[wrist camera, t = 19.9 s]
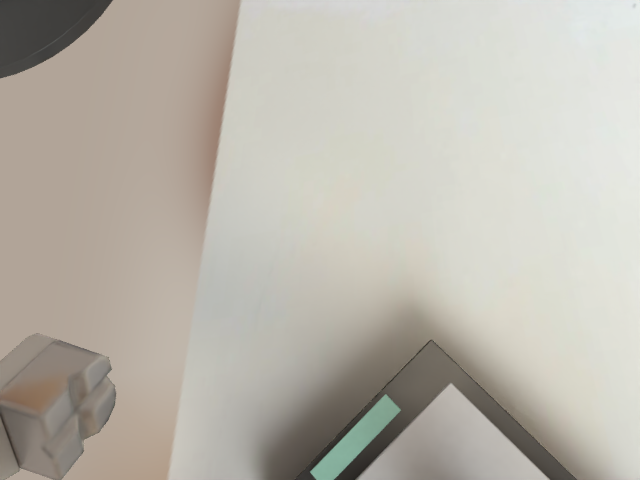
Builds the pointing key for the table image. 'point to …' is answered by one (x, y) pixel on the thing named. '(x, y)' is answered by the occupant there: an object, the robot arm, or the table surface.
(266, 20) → the table surface
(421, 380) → the kitchen scale
